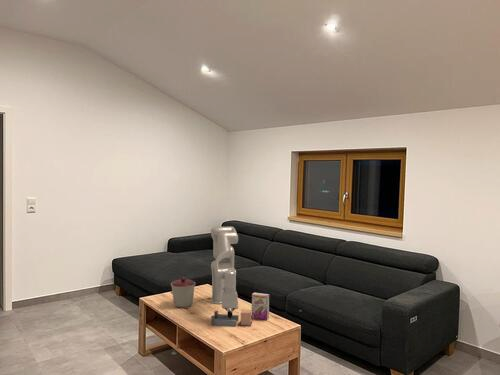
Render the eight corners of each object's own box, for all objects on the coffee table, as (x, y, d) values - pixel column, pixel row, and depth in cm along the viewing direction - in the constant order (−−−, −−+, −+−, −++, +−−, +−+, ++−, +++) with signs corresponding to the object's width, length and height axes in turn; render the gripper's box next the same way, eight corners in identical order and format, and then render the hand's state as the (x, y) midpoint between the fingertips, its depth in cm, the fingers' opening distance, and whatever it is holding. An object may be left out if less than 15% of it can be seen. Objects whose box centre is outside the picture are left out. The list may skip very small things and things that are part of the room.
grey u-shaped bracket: (215, 318, 262) (215, 310, 262) (238, 320, 260) (238, 312, 259) (211, 325, 251) (211, 316, 251) (235, 326, 249) (235, 318, 249)
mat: (240, 320, 259) (240, 320, 259) (252, 321, 258) (252, 321, 258) (238, 326, 250) (238, 325, 250) (250, 326, 249) (250, 326, 249)
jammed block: (242, 321, 257) (242, 309, 257) (251, 321, 256) (251, 309, 256) (240, 324, 251) (240, 312, 251) (249, 325, 250) (249, 313, 250)
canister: (199, 306, 286) (199, 278, 285) (177, 311, 275) (177, 282, 274) (188, 299, 300) (188, 272, 300) (166, 304, 290) (166, 276, 289)
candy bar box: (251, 318, 263) (251, 294, 262) (253, 315, 268) (253, 292, 267) (267, 320, 259) (267, 296, 259) (269, 317, 264) (269, 293, 263)
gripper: (217, 291, 251) (217, 319, 252) (240, 292, 249) (240, 320, 250) (219, 287, 259) (219, 314, 260) (242, 288, 257) (242, 315, 258)
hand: (229, 317), depth 255 cm, fingers closed
